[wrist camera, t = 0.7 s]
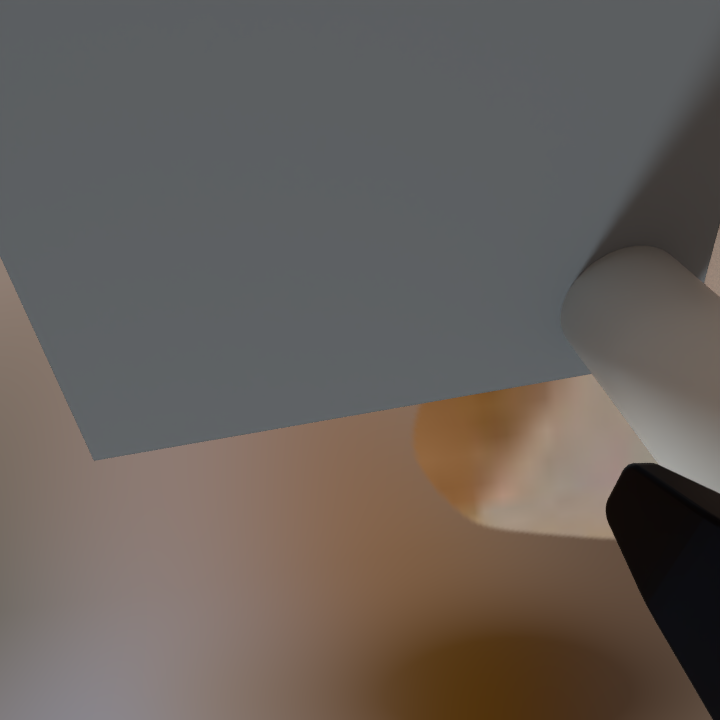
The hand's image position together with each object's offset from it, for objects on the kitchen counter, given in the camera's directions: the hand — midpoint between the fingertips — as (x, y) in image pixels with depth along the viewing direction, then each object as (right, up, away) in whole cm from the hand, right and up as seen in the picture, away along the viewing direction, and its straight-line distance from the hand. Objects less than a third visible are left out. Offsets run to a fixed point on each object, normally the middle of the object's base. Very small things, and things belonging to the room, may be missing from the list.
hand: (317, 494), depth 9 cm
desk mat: (+1, +8, +11) cm, 13 cm away
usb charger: (+10, +4, +14) cm, 18 cm away
